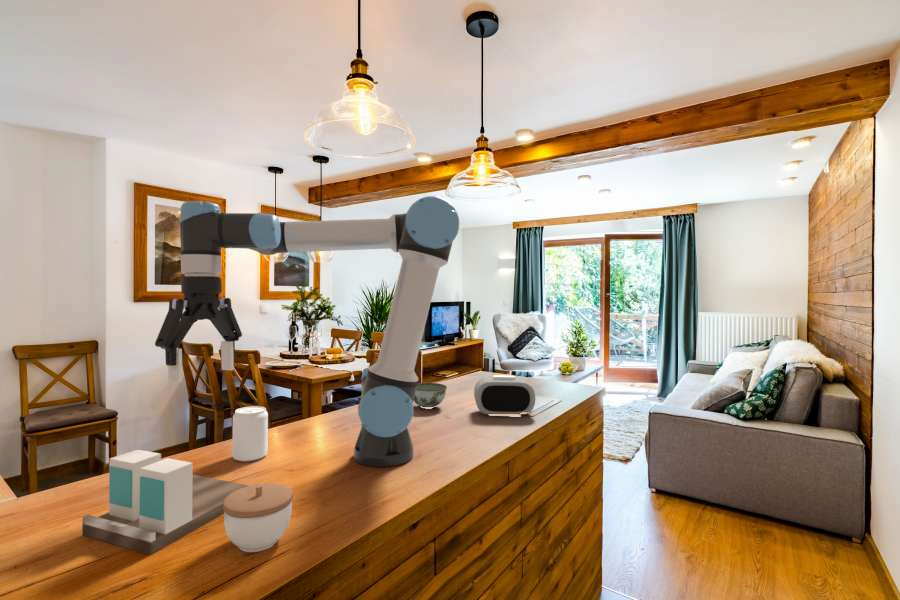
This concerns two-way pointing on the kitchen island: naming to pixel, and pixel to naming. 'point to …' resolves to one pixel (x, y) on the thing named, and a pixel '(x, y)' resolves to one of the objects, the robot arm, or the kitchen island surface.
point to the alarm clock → (504, 395)
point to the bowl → (429, 394)
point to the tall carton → (127, 482)
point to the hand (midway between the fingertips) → (203, 375)
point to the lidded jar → (257, 515)
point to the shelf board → (129, 535)
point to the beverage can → (250, 433)
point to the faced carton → (165, 495)
